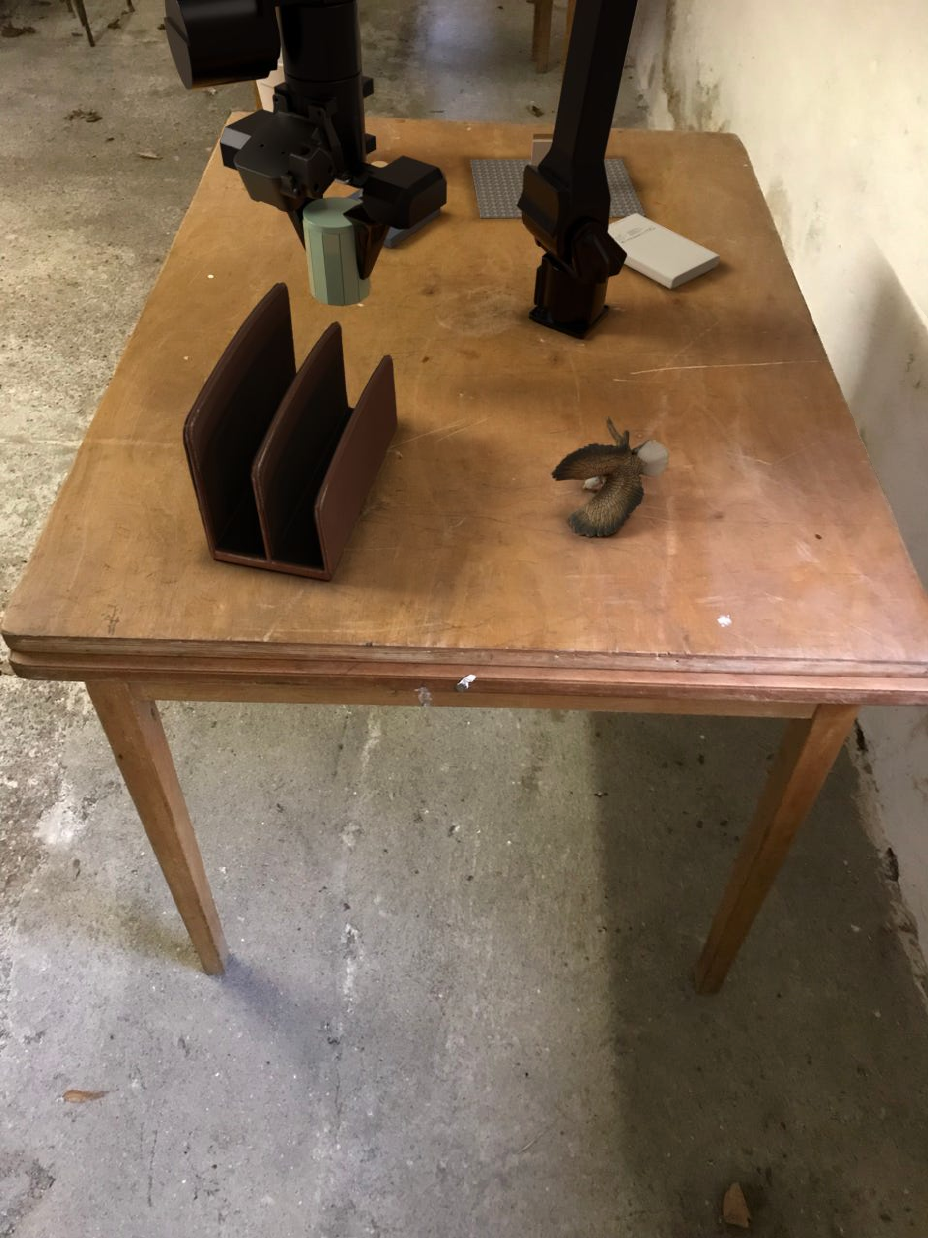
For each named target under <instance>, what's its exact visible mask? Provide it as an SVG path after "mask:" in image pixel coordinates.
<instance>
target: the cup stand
mask: <svg viewBox="0 0 928 1238" xmlns="http://www.w3.org/2000/svg"><path fill="white" fill-rule="evenodd" d="M370 164H371V165H374V166H377V167H385V166H386V165H388V164H389V163H388V162H386V161H382V160H377V161H373V162H371V163H370ZM359 197H360V196H359V189H357V190H356V191H355V192H353V193H351V194H349V195H348V196H347V197H345V198H349V199H353V200H356V201H358V202H359V200H358V198H359ZM441 208H442V207H440V208H439V209H438V210H436V211H435V212H433V213H432V214H430V215H429V216H427V217H426V218H425V219H423V220H422V221H420V222H419V223H417V224H416V225H414V226H413V227H412V228H410V229H403V230H398V229H395V228H393V227H391V228H390V230H389V232H388V234H387V237H386V239H385V241H384V244H383V246H382V247H385V248H389V249H393V248H394V247H396V246H397V245H399V244H400V243H401V242H402V241H404V240H406V239H407V238H409V237H410V236H412V235H413V234H415V233H416V232H417V231H419V230H420V229H422V228H424V226H426V225H427V224H429V223H430V222H432V221H433V220H435V219H436V218H437V217H439V216H440V215H441V214H442V213H441V211H442V210H441Z"/></svg>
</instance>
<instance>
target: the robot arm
mask: <svg viewBox="0 0 928 1238" xmlns="http://www.w3.org/2000/svg"><path fill="white" fill-rule="evenodd" d="M638 4H639V0H576V1H575V6H574V13H573V18H572V24H571V29H570V36H569V41H568V47H567V53H566V58H565V59H566V60H565V65H564V71H563V76H562V82H561V88H560V93H559V100H558V105H557V111H556V117H555V123H554V128H553V133H554V134H553V139H551V140H552V144H551V148H550V150H549V151H548V153H547V154H546V155H545V157H544V158H543V159H542V161H541V162H540V163H539V165H538V166H533V165H526V166H525V169H524V171H523V190H522V193H521V197H520V199H519V201H518V203H517V207H518V208H519V209H520V210H521V211H522V217H521V221H522V224H523V226H524V227H525V228H526V230H527V231H528V232H529V234H530V235H532V236H533V240H534V243H535V245H536V246H537V247H538V248H541V249H542V250H543V251H544V252H545V253H544V254H543V255H541V261H540V265H539V266H537V267H536V270H535V280H534V281H535V282H534V291H533V305H534V306H535V307H533V308H532V309H531V310H530V311H529V312H528V319H529V320H531V321H534V322H536V323H539V324H542V325H544V326H547V327H550V328H552V329H554V330H557V331H559V332H562V333H565V334H567V335H571V336H573V337H576V338H579V339H582V338H585V337H586V336H587V335H588V333H590V332H591V331H592V330H593V329H594V328H595V327H596V326H597V325H598V324H599V323H600V322H601V321H602V320H603V319H604V318H605V317H606V316H607V315H608V314H609V313H610V311H611V306H609V305H608V304H606V297H607V291H608V285H609V280H610V278H611V277H615V276H618V275H619V274H621V271H622V269H623V267H624V265H625V264H624V262H625V260H626V258H627V253H626V252H625V251H624V249H623V248H622V247H621V246H620V245H619V244H618V243H617V242H616V241H615V240H614V239H613V238H612V237H611V235H610V234H609V233H608V229H609V225H610V220H611V219H610V218H611V217H610V207H611V194H610V189H609V183H608V178H607V173H606V167H605V159H606V154H607V148H608V145H609V139H610V134H611V129H612V124H613V120H614V116H615V111H616V107H617V103H618V98H619V93H620V88H621V83H622V78H623V75H624V69H625V65H626V60H627V56H628V51H629V46H630V41H631V37H632V32H633V27H634V22H635V18H636V14H637V9H638ZM164 9H165V16H164V17H163V23H164V29H165V32H166V33H165V34H166V37H167V42H168V46H169V49H170V53H171V56H172V59H173V63H174V66H175V69H176V72H177V73H178V76H179V79H180V81H181V82H182V83H181V84H182V85H183V86H184V88H185V89H186V90H187V91H189V92H190V91H196V90H202V89H209V88H215V87H221V86H229V85H235V84H240V83H241V84H242V83H248V82H253V81H255V82H256V80H261V79H266V78H268V77H269V74H270V71H274V70H277V69H278V59H279V58H280V54H281V50H282V59H283V69H284V78H285V82H283V83H281V84H279V85H276V86H274V94H273V96H272V99H273V112H270V111H267V110H264V109H263V108H261V109H259V110H256V111H254V112H252V113H250V114H248V115H246V116H244V117H242V118H239V119H238V120H236V121H234V122H232V123H229V124H228V125H226V126H225V127H224V128H223V132H222V133H221V137H220V139H219V148H220V153H221V159H222V165H223V167H225V168H228V169H231V170H234V171H236V172H238V174H239V177H240V179H241V181H242V184H243V185H244V187H245V189H246V191H247V194H248V196H249V198H250V199H251V200H252V201H254V202H256V203H260V202H261V203H264V204H266V205H269V206H272V207H275V208H276V209H277V210H279V211H281V212H284V213H286V214H287V216H288V218H289V220H290V222H291V224H292V227H293V229H294V230H295V233H296V235H297V237H298V240H299V241H300V243H301V246H302V247H303V250H304V252H305V253H306V246H305V237H304V228H303V210H304V208H305V207H306V206H307V205H308V204H309V203H311V202H313V201H315V200H318V199H322V198H324V194H325V193H326V192H327V190H328V189H329V188H330V187H331V186H332V184H333V183H334V182H335V183H337V184H340V185H342V186H343V185H344V186H349V187H352V188H355V189H357V190H359V196H360V197H359V198H358V200H359V204H357V205H355V206H354V207H352V208H351V209H349V210H347V211H346V212H344V213H343V216H344V217H345V218H346V219H347V220H348V221H349V222H350V223H351V224H352V225H353V226H354V236H355V249H356V261H357V268H358V273H359V278H360V279H361V280H365V279H367V278H368V277H369V276H370V275H371V276H372V273H373V270H374V268H375V266H376V263H377V261H378V258H379V256H380V254H381V251H382V248H383V247H384V246H383V244H384V241H385V239H386V237H387V234H388V232H389V230H390V228H391V227H393V228H395V229H398V230H403V229H410V228H412V227H413V226H414V225H416V224H417V223H419V222H420V221H422V220H423V219H425V218H426V217H427V216H429V215H430V214H432V213H433V212H435V211H436V210H438V209H439V208H440V207H441V208H442V207H443V206H445V205H446V204H447V203H448V200H447V199H448V182H447V177H446V174H445V173H444V172H443V171H442V169H441V168H440V167H439V166H436V165H433V164H430V163H427V162H425V161H421V160H418V159H416V158H412V157H409V156H406V155H400V156H399V157H398V158H396V159H395V160H392V161H391V162H390V163H388V165H386V166H385V167H377V166H374V165H371V164H372V163H368V162H367V159H368V158H367V156H368V155H370V154H371V153H373V152H375V151H377V136H376V135H373V134H370V133H367V132H366V115H365V114H366V113H365V99H366V98H368V97H369V96H372V95H374V94H375V82H374V81H375V80H374V77H370V76H366V75H363V58H362V57H363V56H362V37H361V20H360V17H361V16H360V15H361V14H360V0H164Z"/></svg>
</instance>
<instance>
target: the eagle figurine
mask: <svg viewBox="0 0 928 1238" xmlns="http://www.w3.org/2000/svg"><path fill="white" fill-rule="evenodd" d="M605 423H606V428H607V429H608V431H609V433H610V436H611V437H612V439H613V440H614V441H615V444H612V443H610V444H604V443H602V444H599V443H597V442H593V443H588V444H587V445H583V446H582V447H579V448H577V449H576V450H575V449H574V450H573V451H572V452H570V453H568V454H566V455H565V457H563V458H561V460H560V461H559V463H558V464H556V465H555V469H553V470H552V472H550V475H551V478H552V479H554V481H555V482H562V481H573V480H574V481H584V485H582V489H583V490H584V489H588V490H592V489H595V488H598V487H599V486H601V487H600V488H599V489H598V491H597V492H596V493H594V494H593V496H592V497H591V498H590V499H588V501H587V502H586V503H584V504H583V505H582V506H580V507H579V508H577V509H576V510H574V511H573V512H571V513H570V514H569V515H568V519H569V520H570V521H569V525H570V526H571V527H572V531H573V532H574V533H577V535H578V536H587V537H594V536H596V535H597V537H598V538H599V537H602V536H610V535H612V534H614V533H615V532H617V531H619V530H620V529H621V528H622V527H624V525H625V523H626V521H628V519H629V518H630V517H631V514H633V512H634V511H636V509H637V507H639V506H640V505H641V504H642V502H643V499H644V498H643V497H644V496H645V492H644V491H645V488H643V482H642V481H641V480H642V477H641V475H642V476H645V477H649V478H652V479H653V478H654V479H657V478H660V477H661V476H662V475H663V473H664V471H665V469H666V468H667V465H668V464H669V457H670V454H669V452H668V449H667V448H666V447H665V446H664V445H663V444H662V443H660V442H659V441H656V440H650V439H647V440H646V441H644V442H642V443H640V444H638V446H636V447H633V448H631V445H630V435H631V432H630V431H629V430H628V429H625V430H624V431H623V433H622V435H620V433H619V431H617V429H616V427H615V426H614V422H613V420H612V418H611V417H610V416H609V415H607V416H606V417H605Z"/></svg>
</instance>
